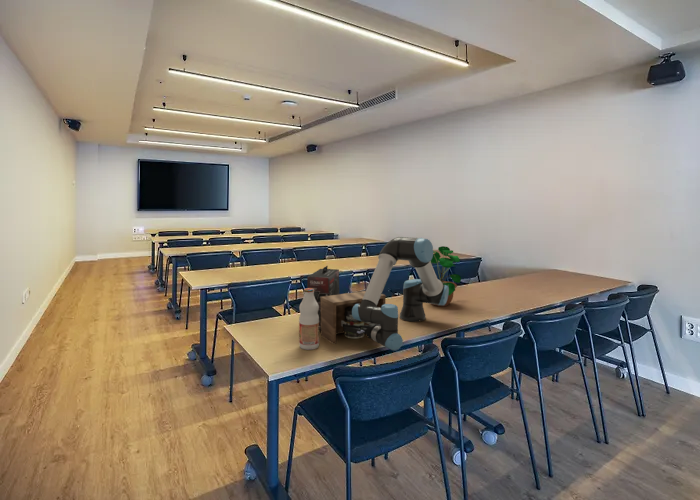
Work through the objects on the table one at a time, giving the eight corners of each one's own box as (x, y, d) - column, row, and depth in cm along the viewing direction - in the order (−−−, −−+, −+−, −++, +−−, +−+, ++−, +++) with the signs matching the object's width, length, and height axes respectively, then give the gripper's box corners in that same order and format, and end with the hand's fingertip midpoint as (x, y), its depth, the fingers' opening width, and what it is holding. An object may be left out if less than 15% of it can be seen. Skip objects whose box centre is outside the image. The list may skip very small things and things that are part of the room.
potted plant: (434, 312, 243) (436, 250, 239) (415, 301, 271) (417, 245, 266) (477, 309, 251) (480, 249, 246) (455, 298, 279) (457, 244, 274)
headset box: (329, 331, 205) (329, 270, 201) (306, 330, 208) (306, 269, 204) (340, 318, 229) (340, 263, 225) (319, 317, 231) (319, 262, 227)
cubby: (370, 326, 215) (371, 290, 212) (384, 333, 203) (385, 295, 201) (320, 335, 199) (320, 296, 197) (333, 343, 188) (333, 302, 185)
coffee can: (361, 339, 194) (361, 312, 192) (341, 337, 197) (341, 310, 195) (366, 333, 204) (366, 307, 202) (347, 331, 207) (348, 305, 205)
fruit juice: (308, 351, 177) (308, 292, 174) (295, 346, 184) (294, 289, 180) (323, 346, 184) (323, 288, 181) (310, 341, 191) (309, 285, 187)
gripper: (354, 345, 176) (331, 332, 194) (397, 336, 189) (372, 324, 207) (354, 329, 175) (331, 317, 193) (397, 321, 188) (372, 310, 206)
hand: (353, 321), depth 200 cm, fingers open, 13 cm apart
